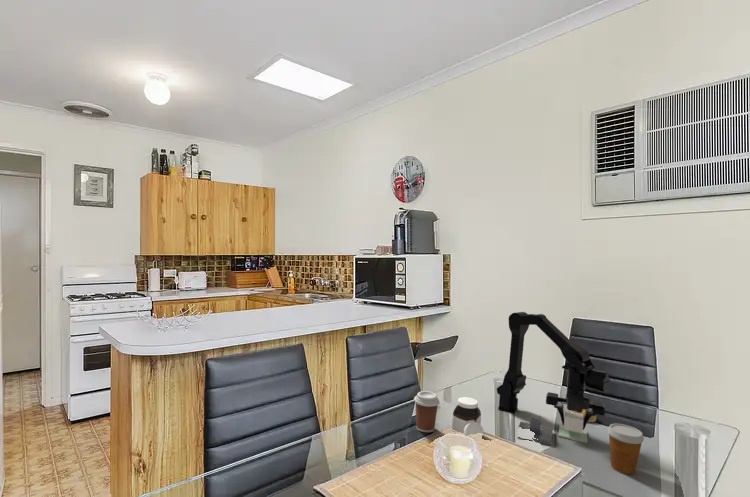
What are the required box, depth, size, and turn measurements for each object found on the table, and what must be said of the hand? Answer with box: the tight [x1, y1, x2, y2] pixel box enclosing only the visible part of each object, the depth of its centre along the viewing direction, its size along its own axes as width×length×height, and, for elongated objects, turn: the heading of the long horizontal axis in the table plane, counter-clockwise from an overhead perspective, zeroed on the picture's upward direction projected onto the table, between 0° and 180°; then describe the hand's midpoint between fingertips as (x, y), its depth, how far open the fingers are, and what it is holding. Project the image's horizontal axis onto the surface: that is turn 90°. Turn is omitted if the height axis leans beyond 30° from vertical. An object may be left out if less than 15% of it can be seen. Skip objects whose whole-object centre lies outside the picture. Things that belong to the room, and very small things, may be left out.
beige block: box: [563, 410, 584, 433], centre depth 148 cm, size 6×6×4 cm
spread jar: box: [451, 396, 484, 436], centre depth 142 cm, size 12×11×12 cm
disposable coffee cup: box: [607, 423, 645, 475], centre depth 126 cm, size 10×10×12 cm
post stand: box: [518, 414, 554, 447], centre depth 146 cm, size 11×11×6 cm
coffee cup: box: [413, 390, 441, 433], centre depth 147 cm, size 9×9×12 cm
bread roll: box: [569, 409, 597, 423], centre depth 163 cm, size 8×9×4 cm
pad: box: [558, 424, 588, 444], centre depth 148 cm, size 9×9×1 cm
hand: (573, 427), depth 148 cm, fingers closed on beige block, 6 cm apart
